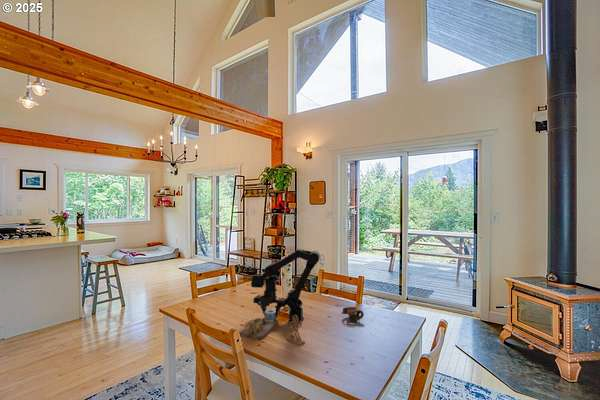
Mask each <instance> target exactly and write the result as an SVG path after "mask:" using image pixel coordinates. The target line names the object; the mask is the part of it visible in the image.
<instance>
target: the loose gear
mask: <svg viewBox="0 0 600 400" xmlns="http://www.w3.org/2000/svg"><path fill="white" fill-rule="evenodd" d="M264 318H265V319H267V320H273V321H277V318H278V317H277V318H276V309H273V308H272V309H270V308H269V309H266V310H265V316H264Z"/></svg>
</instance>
